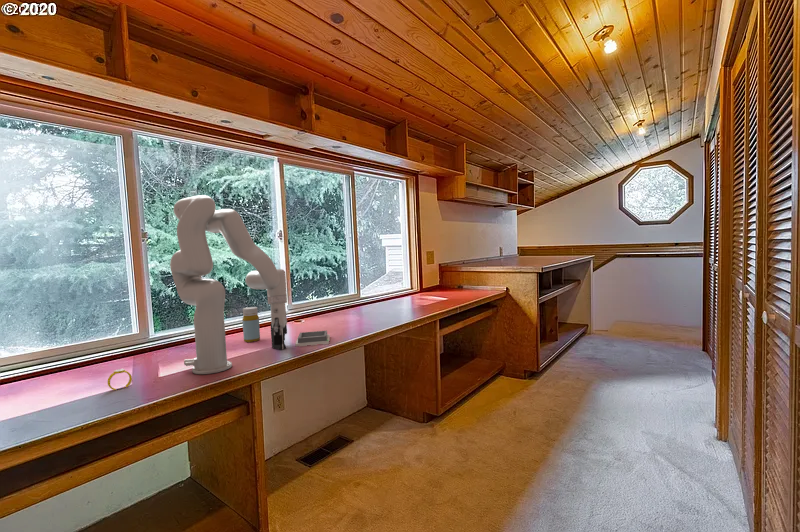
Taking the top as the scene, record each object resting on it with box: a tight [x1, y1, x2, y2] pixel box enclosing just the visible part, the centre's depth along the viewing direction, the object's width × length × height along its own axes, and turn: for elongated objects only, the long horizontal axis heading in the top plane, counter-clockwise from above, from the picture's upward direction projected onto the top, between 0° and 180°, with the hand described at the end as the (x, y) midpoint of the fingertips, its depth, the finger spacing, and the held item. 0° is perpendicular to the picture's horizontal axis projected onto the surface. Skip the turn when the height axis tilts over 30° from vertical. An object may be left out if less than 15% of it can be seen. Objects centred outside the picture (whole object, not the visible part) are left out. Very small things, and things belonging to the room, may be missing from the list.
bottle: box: [242, 306, 261, 343], centre depth 180 cm, size 7×7×15 cm
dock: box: [295, 330, 331, 348], centre depth 173 cm, size 14×14×3 cm
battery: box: [270, 321, 288, 351], centre depth 163 cm, size 7×4×11 cm, turn 52°
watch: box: [107, 368, 133, 391], centre depth 122 cm, size 6×3×6 cm, turn 139°
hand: (279, 342), depth 163 cm, fingers closed on battery, 6 cm apart
